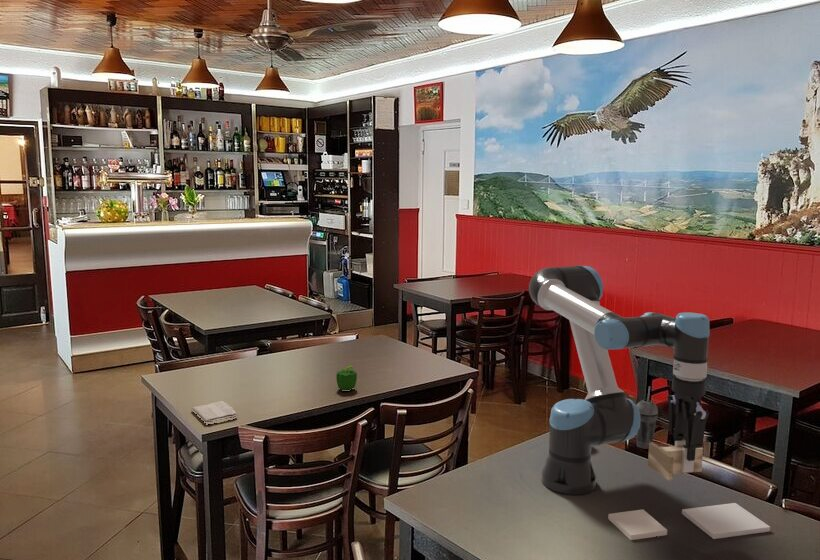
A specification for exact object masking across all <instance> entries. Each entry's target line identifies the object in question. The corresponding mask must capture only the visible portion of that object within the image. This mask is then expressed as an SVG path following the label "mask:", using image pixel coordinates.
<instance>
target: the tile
mask: <svg viewBox="0 0 820 560" xmlns="http://www.w3.org/2000/svg"><path fill="white" fill-rule="evenodd" d="M607 517H608V518H607V520H609V521H610V522H611V523H612V524H613V525H614V526H615V527H616V528H617V529H618V530H619V531H620V532H621V533H623V535H625V536H626V538H628V539H629V540H630V541H635V540H641V539H648V538H655V537H656V536H657V537H663V536H668V529H667V528H666V527H665V526H663V525H662V524H661V523H659V521H657V520H656V519H655V518H654V517H653V516H652V515H650V514H649V513H648V512H647V511H645V509H637V510H628V511H622V512H621V511H620V512H613V513H608V515H607Z"/></svg>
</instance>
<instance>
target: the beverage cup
mask: <svg viewBox="0 0 820 560" xmlns="http://www.w3.org/2000/svg"><path fill="white" fill-rule="evenodd" d="M647 392H648V393H647V398H646V399H641V400H640V401H638V402H637V404H636V405H637V407H638V409H639V412H640V428H639V429H638V432H637V434H636V435H635V438H636V446H637V448H640V449H643V450H649V443H651V442H653V443H654V437H655V430H656V425H657V420H658V418H659V417H658V416H659V409H658V406H657V404H655V402H654V401H652V400H650V393H651V386H648V391H647Z"/></svg>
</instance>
